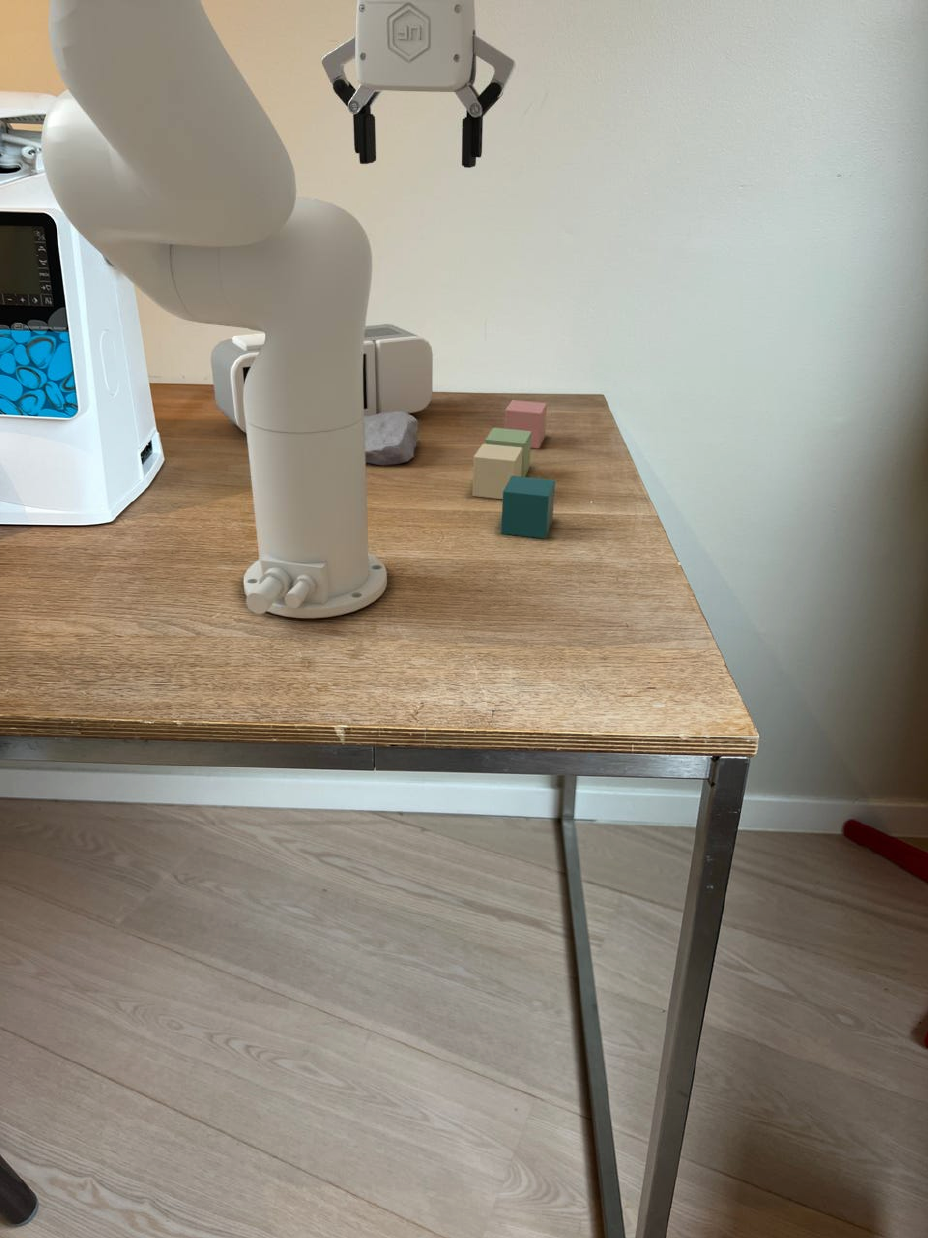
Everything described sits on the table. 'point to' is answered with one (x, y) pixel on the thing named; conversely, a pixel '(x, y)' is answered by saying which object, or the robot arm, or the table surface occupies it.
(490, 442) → the sage block
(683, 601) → the table surface
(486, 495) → the cream block
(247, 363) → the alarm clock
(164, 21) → the robot arm
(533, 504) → the teal block
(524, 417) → the rose block
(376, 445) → the stone block
